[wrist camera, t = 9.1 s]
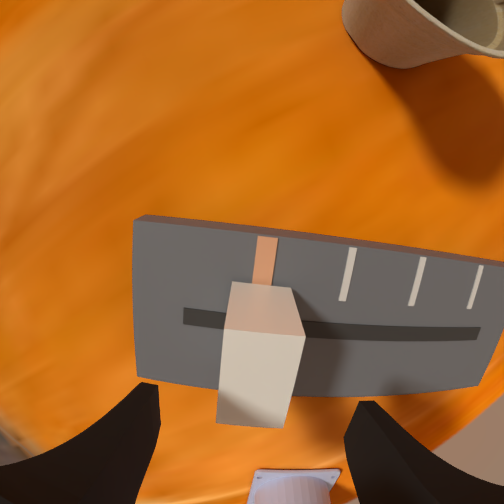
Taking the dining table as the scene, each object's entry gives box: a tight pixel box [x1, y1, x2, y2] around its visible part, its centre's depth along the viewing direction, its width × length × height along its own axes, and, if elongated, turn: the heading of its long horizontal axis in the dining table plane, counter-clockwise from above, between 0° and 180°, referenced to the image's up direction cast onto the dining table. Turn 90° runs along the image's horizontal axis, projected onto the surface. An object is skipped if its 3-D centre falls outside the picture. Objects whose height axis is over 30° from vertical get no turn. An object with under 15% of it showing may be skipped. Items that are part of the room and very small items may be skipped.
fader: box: [216, 281, 306, 428], centre depth 14 cm, size 5×3×5 cm, turn 173°
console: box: [132, 215, 504, 397], centre depth 18 cm, size 10×26×2 cm, turn 83°
